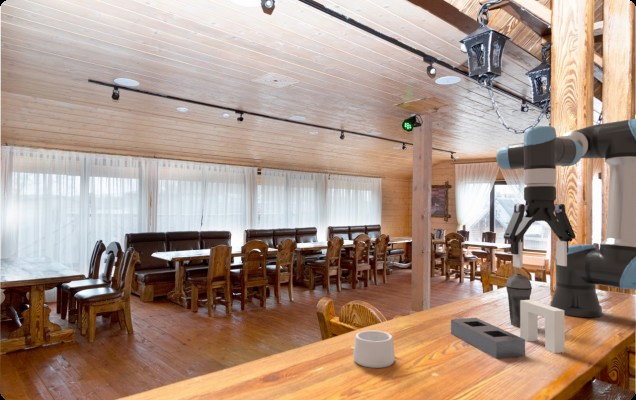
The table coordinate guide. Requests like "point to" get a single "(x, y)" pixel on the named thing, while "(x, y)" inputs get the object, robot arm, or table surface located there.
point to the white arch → (552, 324)
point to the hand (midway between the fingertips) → (539, 266)
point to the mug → (373, 349)
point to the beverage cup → (517, 295)
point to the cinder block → (488, 338)
